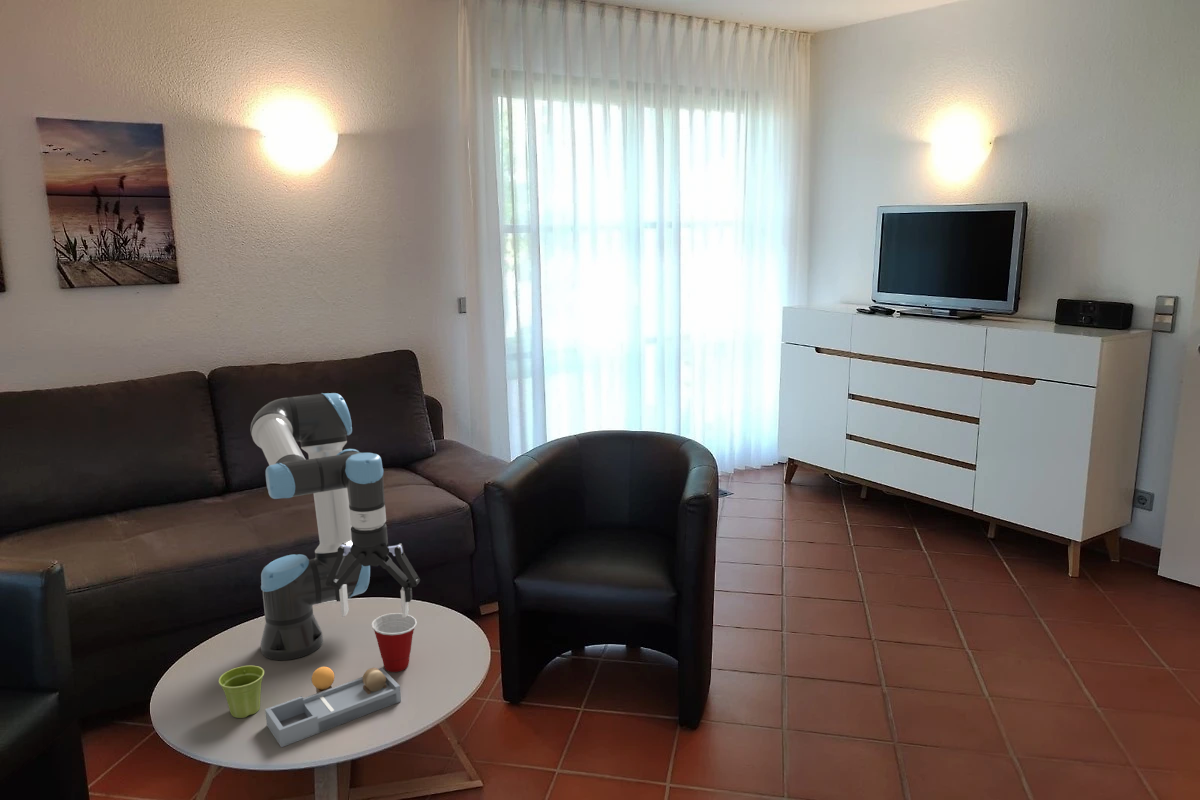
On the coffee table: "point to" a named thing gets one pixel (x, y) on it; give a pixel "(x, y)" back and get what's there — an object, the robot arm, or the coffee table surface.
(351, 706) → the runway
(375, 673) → the block
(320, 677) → the ball
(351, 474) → the robot arm
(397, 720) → the coffee table surface
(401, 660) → the plastic cup
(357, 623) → the coffee table surface
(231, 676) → the plant pot
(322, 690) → the small wooden crate
